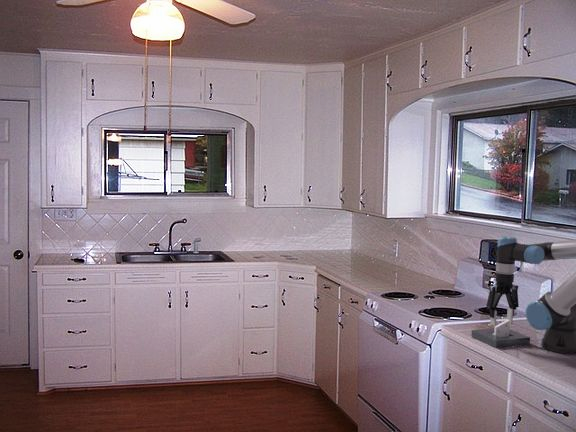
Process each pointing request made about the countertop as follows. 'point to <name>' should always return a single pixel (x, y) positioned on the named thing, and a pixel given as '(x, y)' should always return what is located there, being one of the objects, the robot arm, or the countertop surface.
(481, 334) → the grey square frame
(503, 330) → the white wedge bracket
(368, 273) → the countertop surface
